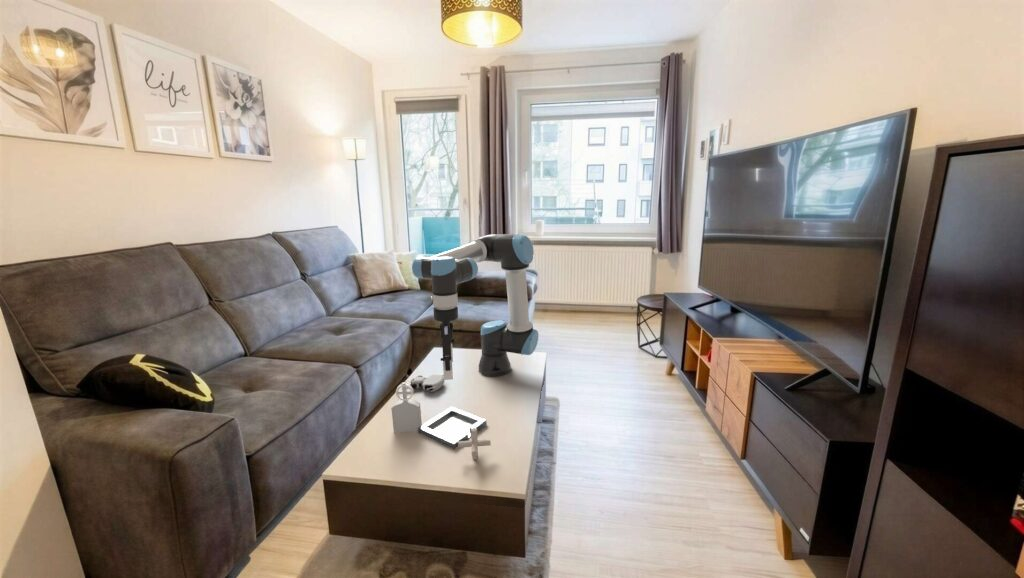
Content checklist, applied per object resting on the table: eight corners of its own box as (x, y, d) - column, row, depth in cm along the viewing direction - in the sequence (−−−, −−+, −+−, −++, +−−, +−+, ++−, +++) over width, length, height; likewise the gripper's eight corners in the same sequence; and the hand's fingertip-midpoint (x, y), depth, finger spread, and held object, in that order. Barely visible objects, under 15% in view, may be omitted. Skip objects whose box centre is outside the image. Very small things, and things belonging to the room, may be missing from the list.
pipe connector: (460, 449, 133) (458, 421, 130) (490, 446, 134) (489, 419, 131) (458, 469, 123) (456, 440, 121) (491, 467, 124) (490, 438, 122)
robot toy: (404, 394, 171) (437, 395, 168) (403, 384, 170) (436, 385, 167) (417, 381, 183) (448, 382, 179) (416, 372, 182) (447, 372, 178)
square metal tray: (451, 411, 156) (451, 406, 155) (486, 424, 146) (486, 419, 146) (418, 432, 142) (417, 427, 142) (454, 449, 133) (453, 444, 132)
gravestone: (395, 427, 146) (391, 381, 141) (421, 426, 146) (418, 380, 142) (393, 432, 143) (389, 385, 139) (420, 431, 143) (416, 384, 139)
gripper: (435, 297, 138) (438, 356, 143) (431, 318, 114) (435, 388, 119) (457, 296, 139) (459, 354, 144) (457, 317, 115) (460, 386, 119)
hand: (448, 370), depth 131 cm, fingers open, 13 cm apart
